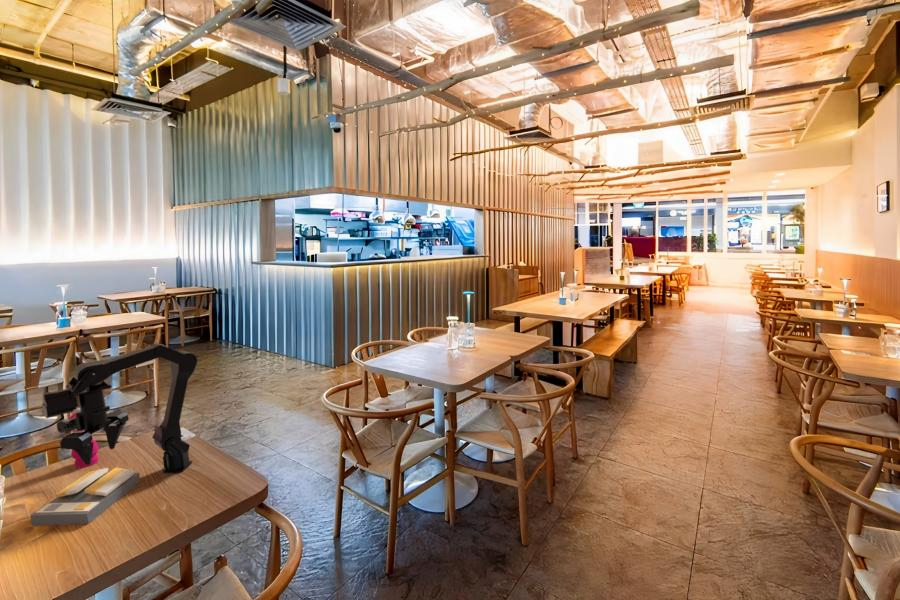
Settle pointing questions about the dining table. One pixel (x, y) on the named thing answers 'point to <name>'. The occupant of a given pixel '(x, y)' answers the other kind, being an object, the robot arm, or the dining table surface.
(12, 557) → the dining table surface
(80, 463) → the pepper mill
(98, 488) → the switch
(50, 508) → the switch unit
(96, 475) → the switch
